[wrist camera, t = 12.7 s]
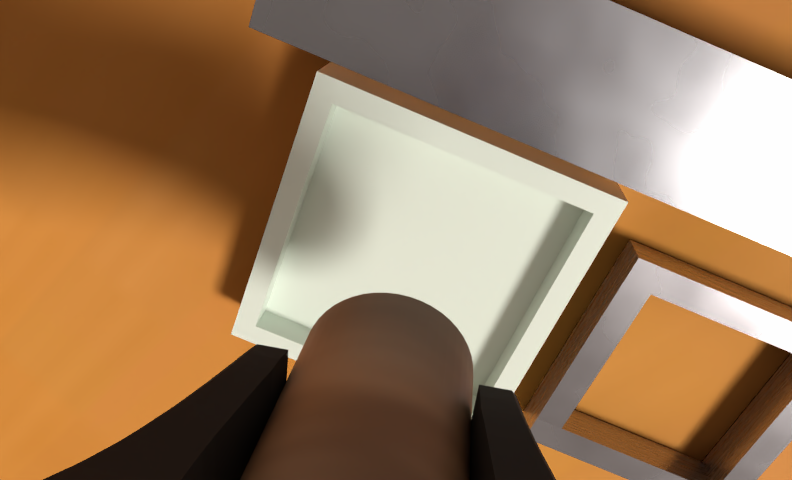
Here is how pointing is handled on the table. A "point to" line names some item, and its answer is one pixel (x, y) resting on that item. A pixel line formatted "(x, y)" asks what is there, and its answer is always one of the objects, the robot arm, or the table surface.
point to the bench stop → (579, 92)
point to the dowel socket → (601, 332)
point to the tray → (424, 225)
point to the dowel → (373, 398)
